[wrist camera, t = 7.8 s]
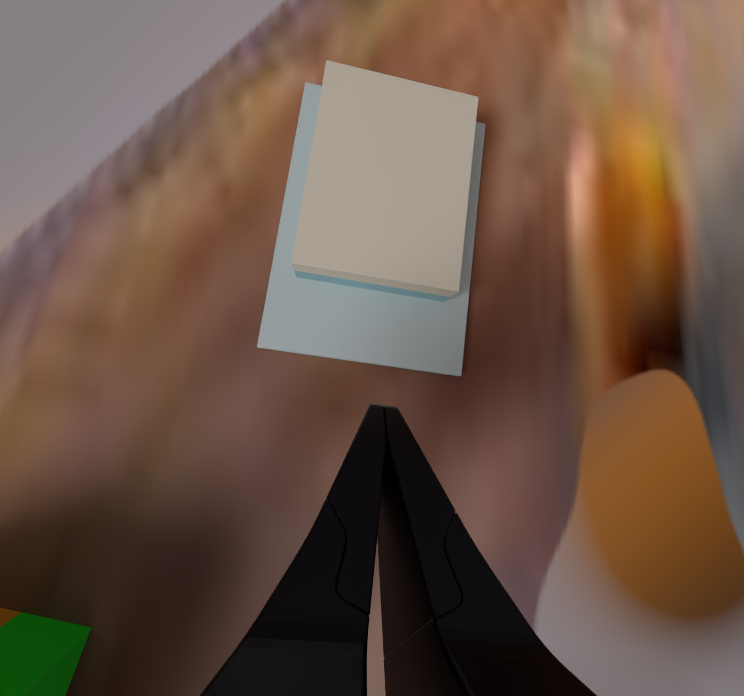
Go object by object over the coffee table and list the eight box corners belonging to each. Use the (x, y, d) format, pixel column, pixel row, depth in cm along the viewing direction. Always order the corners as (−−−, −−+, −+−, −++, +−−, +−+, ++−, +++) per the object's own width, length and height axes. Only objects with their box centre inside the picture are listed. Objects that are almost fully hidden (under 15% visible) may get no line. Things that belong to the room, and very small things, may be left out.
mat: (458, 376, 19) (461, 376, 18) (258, 347, 17) (257, 346, 17) (482, 129, 21) (485, 124, 20) (306, 88, 20) (305, 82, 19)
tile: (458, 291, 17) (478, 97, 18) (291, 262, 16) (326, 60, 17) (444, 302, 19) (463, 127, 20) (296, 277, 18) (327, 96, 19)
